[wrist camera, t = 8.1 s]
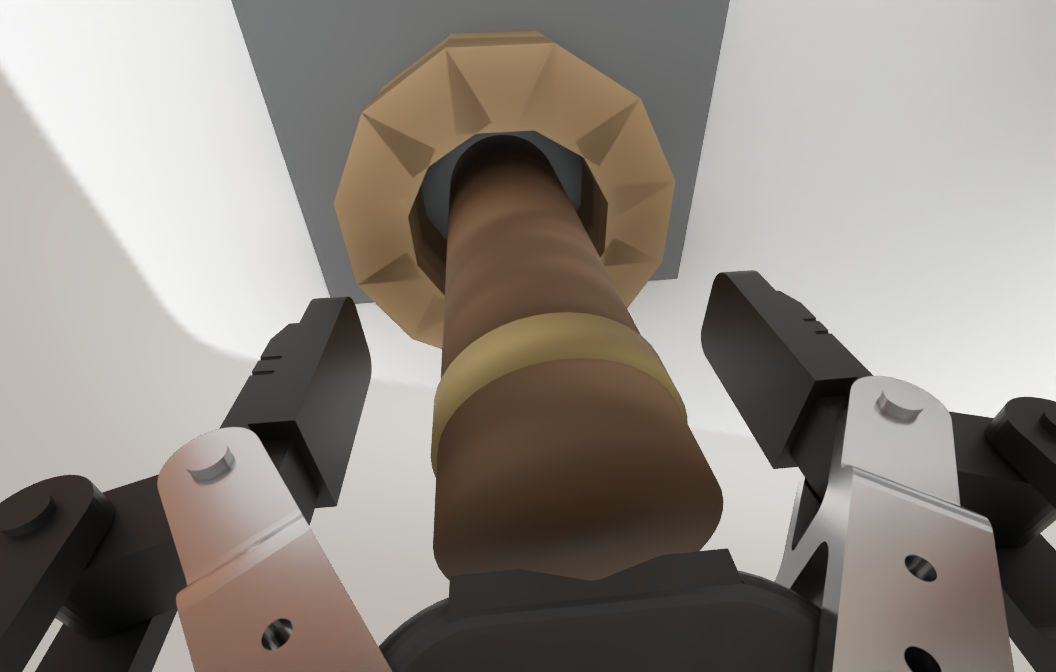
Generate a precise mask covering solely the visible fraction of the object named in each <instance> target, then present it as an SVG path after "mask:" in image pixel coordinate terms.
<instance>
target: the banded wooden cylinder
mask: <svg viewBox="0 0 1056 672" xmlns="http://www.w3.org/2000/svg"><path fill="white" fill-rule="evenodd" d="M431 462H432V468H433V471H434V474H435V477H436V496H435V517H434V538H433V550H434V556H435V560H436V562H437V564H438V567H439V568H440V570H441V571H442V573H443V574H444V575H445V577H446V578H448V579H449V580H450V576H453V575H463V574H473V573H484V572H494V571H504V570H514V569H523V570H529V571H535V572H541V573H547V574H553V575H559V576H565V577H571V578H577V579H583V580H591V581H593V580H599V579H602V578H605V577H607V576H610V575H612V574H615V573H617V572H620V571H622V570H625V569H628V568H630V567H633V566H635V565H638V564H640V563H643V562H645V561H648V560H650V559H653V558H655V557H658V556H660V555H667V554H677V553H688V552H698V551H700V550H701V548H702V547H703V546H704V545H705V544H706V543H707V542H708V540H709V539H710V538H711V536H712V535H713V533H714V531H715V530H716V528H717V526H718V524H719V522H720V519H721V515H722V511H723V496H722V491H721V488H720V486H719V484H718V482H717V479H716V478H715V476H714V474H713V472H712V470H711V468H710V466H709V464H708V462H707V461H706V459H705V457H704V455H703V453H702V451H701V449H700V447H699V445H698V443H697V441H696V440H695V438H694V436H693V434H692V432H691V430H690V428H689V426H688V424H687V414H686V409H685V405H684V403H683V401H682V399H681V397H680V395H679V393H678V391H677V389H676V387H675V386H674V384H673V382H672V380H671V378H670V376H669V374H668V373H667V371H666V369H665V367H664V365H663V363H662V362H661V360H660V358H659V356H658V354H657V353H656V352H655V350H654V349H653V347H652V346H651V345H650V344H649V343H648V342H647V341H646V340H645V339H644V338H643V337H642V336H641V335H640V333H639V331H638V329H637V327H636V325H635V323H634V321H633V320H632V318H631V316H630V314H629V312H628V310H627V308H626V306H625V304H624V302H623V300H622V299H621V297H620V295H619V293H618V291H617V289H616V287H615V285H614V283H613V281H612V280H611V278H610V276H609V274H608V272H607V270H606V268H605V266H604V264H603V262H602V261H601V259H600V257H599V255H598V253H597V251H596V249H595V247H594V245H593V243H592V241H591V240H590V238H589V236H588V234H587V232H586V230H585V228H584V226H583V224H582V222H581V221H580V219H579V217H578V215H577V213H576V211H575V209H574V207H573V205H572V203H571V201H570V200H569V198H568V196H567V194H566V192H565V190H564V188H563V186H562V184H561V182H560V181H559V179H558V177H557V175H556V173H555V171H554V169H553V167H552V165H551V163H550V162H549V160H548V158H547V157H546V155H545V154H544V153H543V152H542V151H541V150H540V149H539V148H538V147H537V146H536V145H534V144H533V143H531V142H529V141H528V140H525V139H523V138H520V137H517V136H512V135H495V136H490V137H486V138H484V139H482V140H479V141H477V142H476V143H474V144H473V145H471V146H470V147H469V148H468V149H466V151H465V152H464V153H463V154H462V155H461V156H460V158H459V159H458V161H457V163H456V165H455V166H454V169H453V172H452V175H451V180H450V197H449V218H448V239H447V261H446V282H445V303H444V325H443V346H442V367H441V381H440V383H439V385H438V387H437V391H436V395H435V399H434V413H433V430H432V446H431Z"/></svg>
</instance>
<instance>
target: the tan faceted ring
mask: <svg viewBox="0 0 1056 672" xmlns="http://www.w3.org/2000/svg"><path fill="white" fill-rule="evenodd" d="M533 130H535V131H537V132H539V133H540V134H542V135H544V136H546V137H548V138H549V139H551V140H553V141H555V142H557V143H558V144H560V145H562V146H564V147H566V148H567V149H569V150H571V151H573V152H575V153H576V154H578V156H579V158H580V159H581V161H582V187H581V205H580V207H579V209H578V210H577V212H576V213H577V215H578V217H579V219H580V221H581V222H582V224H583V226H584V228H585V230H586V232H587V234H588V236H589V238H590V240H591V241H592V243H593V245H594V247H595V249H596V251H597V253H598V255H599V257H600V259H601V261H602V262H603V264H604V266H605V268H606V270H607V272H608V274H609V276H610V278H611V280H612V281H613V283H614V285H615V287H616V289H617V291H618V293H619V295H620V297H621V299H622V300H623V302H624V304H625V306H626V308H628V306H629V305H630V304H631V303H632V301H633V300H634V299H635V297H636V296H637V295H638V293H639V292H640V291H641V289H642V288H643V287H644V285H645V284H646V283H647V281H648V280H649V279H650V277H651V276H652V275H653V273H654V272H655V271H656V270H657V268H658V267H659V266H660V264H661V263H662V261H663V255H664V249H665V243H666V237H667V230H668V224H669V218H670V212H671V206H672V200H673V194H674V187H675V179H674V177H673V175H672V172H671V170H670V167H669V165H668V163H667V160H666V158H665V155H664V153H663V151H662V148H661V146H660V143H659V141H658V139H657V136H656V134H655V131H654V129H653V127H652V124H651V122H650V119H649V117H648V115H647V112H646V110H645V107H644V105H643V103H642V100H641V98H640V97H638V96H637V95H635V94H634V93H632V92H631V91H629V90H628V89H626V88H624V87H623V86H621V85H620V84H618V83H617V82H615V81H614V80H612V79H611V78H609V77H608V76H606V75H605V74H603V73H602V72H600V71H599V70H597V69H595V68H594V67H592V66H591V65H589V64H588V63H586V62H585V61H583V60H581V59H580V58H578V57H577V56H575V55H574V54H572V53H571V52H569V51H567V50H566V49H564V48H563V47H561V46H560V45H558V44H557V43H555V42H553V41H552V40H550V39H549V38H547V37H546V36H544V35H543V34H541V33H540V32H538V31H536V30H530V31H506V32H482V33H459V34H450V35H448V36H447V37H446V38H444V39H443V40H442V41H441V42H439V43H438V44H437V45H435V46H434V47H433V48H432V49H430V50H429V51H428V52H426V53H425V54H424V55H423V56H421V57H420V58H419V59H418V60H416V61H415V62H414V63H412V64H411V65H410V66H409V67H407V68H406V69H405V70H403V71H402V72H401V73H400V74H398V75H397V76H396V77H394V78H393V79H392V80H391V81H389V82H388V83H387V84H386V85H384V86H383V87H382V89H381V90H380V91H379V92H378V93H377V95H376V96H375V97H374V98H373V100H372V101H371V102H370V103H369V104H368V106H367V107H366V108H365V109H364V111H363V112H362V113H361V116H360V120H359V123H358V126H357V129H356V133H355V136H354V139H353V142H352V146H351V149H350V152H349V155H348V159H347V162H346V165H345V168H344V171H343V175H342V178H341V181H340V184H339V188H338V191H337V194H336V197H335V201H334V207H335V210H336V214H337V217H338V221H339V224H340V228H341V231H342V235H343V238H344V242H345V245H346V249H347V252H348V256H349V259H350V263H351V266H352V269H353V273H354V276H355V280H356V283H357V285H358V286H359V287H360V288H361V289H362V290H363V291H364V292H365V293H366V294H367V295H368V296H369V297H370V298H371V299H372V300H373V301H374V302H375V303H376V304H377V305H378V306H379V307H380V308H381V309H382V310H383V311H384V312H385V313H386V314H387V315H388V316H389V317H390V318H391V319H392V320H393V321H394V322H395V323H396V324H397V325H398V326H400V327H401V328H402V329H403V330H404V331H405V332H406V333H407V334H408V335H409V336H410V337H411V338H412V339H414V340H417V341H420V342H423V343H426V344H429V345H432V346H435V347H438V348H441V349H442V346H443V325H444V303H445V282H446V261H447V240H446V239H445V238H444V237H443V235H442V234H441V233H440V232H439V231H438V229H437V228H436V227H435V226H434V224H433V223H432V222H431V221H430V219H429V218H428V217H427V216H426V211H425V205H424V199H423V193H422V187H421V183H422V181H423V178H424V176H425V173H426V171H427V169H428V167H429V166H430V165H432V164H433V163H435V162H436V161H438V160H439V159H440V158H442V157H443V156H445V155H446V154H447V153H449V152H450V151H452V150H453V149H455V148H456V147H457V146H459V145H460V144H462V143H463V142H464V141H466V140H467V139H469V138H470V137H472V136H473V135H474V134H480V133H497V132H515V131H533Z"/></svg>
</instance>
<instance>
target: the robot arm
mask: <svg viewBox="0 0 1056 672" xmlns="http://www.w3.org/2000/svg"><path fill="white" fill-rule="evenodd" d="M701 343H702V348H703V352H704V354H705V356H706V358H707V359H708V361H709V363H710V364H711V366H712V368H713V369H714V371H715V373H716V374H717V376H718V378H719V379H720V381H721V383H722V384H723V386H724V388H725V389H726V391H727V393H728V394H729V396H730V398H731V399H732V401H733V403H734V404H735V406H736V408H737V409H738V411H739V413H740V414H741V416H742V418H743V419H744V421H745V422H746V424H747V426H748V427H749V429H750V431H751V432H752V434H753V436H754V437H755V439H756V441H757V442H758V444H759V446H760V447H761V449H762V451H763V452H764V454H765V456H766V457H767V459H768V460H769V462H770V464H771V466H772V467H773V469H778V468H789V467H799V469H800V470H801V472H802V473H803V476H802V478H801V480H800V482H799V485H798V488H797V492H796V498H795V502H794V507H793V512H792V516H791V521H790V526H789V531H788V535H787V540H786V545H785V551H784V555H783V559H782V563H781V566H780V570H779V572H778V575H777V577H776V580H775V582H773V581H771V580H768V579H765V578H763V577H760V576H756V575H753V574H749V573H746V572H742V571H737V568H736V566H735V564H734V561H733V559H732V557H731V555H730V552H729V550H728V549H718V550H708V551H698V552H688V553H677V554H667V555H660V556H658V557H655V558H653V559H650V560H648V561H645V562H643V563H640V564H638V565H635V566H633V567H630V568H628V569H625V570H622V571H620V572H617V573H615V574H612V575H610V576H607V577H605V578H602V579H599V580H593V581H591V580H583V579H577V578H571V577H565V576H559V575H553V574H547V573H541V572H535V571H529V570H523V569H514V570H504V571H494V572H484V573H473V574H463V575H453V576H450V587H449V598H447V599H444V600H441V601H439V602H437V603H435V604H433V605H431V606H429V607H427V608H425V609H424V610H422V611H420V612H419V613H417V614H416V615H414V616H413V617H411V618H410V619H409V620H407V621H406V622H404V623H403V624H402V625H401V626H400V627H398V628H397V629H396V630H395V631H394V632H393V633H392V634H390V635H389V636H388V637H387V639H385V641H384V642H383V643H382V644H381V645H380V646H379V647H378V646H377V644H376V642H375V640H374V639H373V637H372V635H371V633H370V632H369V630H368V628H367V626H366V625H365V623H364V621H363V619H362V618H361V616H360V614H359V612H358V611H357V609H356V607H355V605H354V604H353V602H352V600H351V599H350V597H349V595H348V593H347V592H346V590H345V588H344V586H343V584H342V583H341V581H340V579H339V578H338V576H337V574H336V572H335V570H334V569H333V567H332V565H331V564H330V562H329V560H328V558H327V556H326V555H325V553H324V551H323V549H322V548H321V546H320V544H319V543H318V541H317V539H316V537H315V536H314V534H313V532H312V530H311V528H310V527H309V525H310V522H311V519H312V516H313V512H314V509H315V508H321V507H322V508H323V507H334V506H337V503H338V499H339V495H340V492H341V487H342V484H343V480H344V477H345V473H346V469H347V465H348V462H349V458H350V454H351V450H352V447H353V443H354V439H355V435H356V432H357V428H358V424H359V421H360V417H361V413H362V409H363V406H364V402H365V398H366V394H367V390H368V387H369V383H370V379H371V358H370V353H369V349H368V346H367V342H366V339H365V336H364V332H363V329H362V326H361V322H360V319H359V316H358V312H357V309H356V306H355V303H354V301H353V300H352V298H351V297H334V298H319V299H313V300H311V302H310V304H309V305H308V307H307V309H306V311H305V313H304V315H303V317H302V319H301V321H300V323H293V324H288V325H287V326H286V327H285V328H284V329H283V330H281V331H280V332H279V333H278V334H277V335H275V336H274V337H273V338H272V339H271V340H270V341H269V343H268V345H267V347H266V348H265V350H264V352H263V354H262V355H261V361H258V362H257V364H256V366H255V368H254V369H253V371H252V376H250V377H249V378H248V380H247V382H246V383H245V385H244V387H243V388H242V390H241V392H240V394H239V396H238V397H237V399H236V401H235V402H234V404H233V406H232V408H231V409H230V411H229V413H228V415H227V416H226V418H225V420H224V422H223V423H222V425H221V427H220V429H217V430H214V431H211V432H208V433H205V434H203V435H201V436H199V437H197V438H195V439H193V440H191V441H190V442H188V443H187V444H185V445H183V446H182V447H181V448H180V449H178V450H177V451H176V452H175V453H174V454H173V455H172V456H171V457H170V458H169V459H168V460H167V462H166V463H165V464H164V466H163V468H162V469H161V471H160V474H159V475H156V476H153V477H150V478H147V479H143V480H140V481H137V482H134V483H131V484H128V485H125V486H121V487H118V488H115V489H112V490H109V491H106V492H103V493H102V492H101V491H99V489H98V488H97V487H96V486H95V485H94V484H93V483H92V482H91V481H89V480H88V479H87V478H85V477H82V476H79V475H64V476H58V477H53V478H50V479H46V480H43V481H40V482H38V483H35V484H33V485H31V486H29V487H26V488H24V489H22V490H21V491H19V492H17V493H15V494H13V495H12V496H10V497H9V498H7V499H5V500H4V501H3V502H1V503H0V672H22V671H23V670H24V668H25V666H26V665H27V663H28V661H29V660H30V658H31V656H32V655H33V653H34V651H35V650H36V648H37V646H38V645H39V643H40V642H41V640H42V638H43V637H44V635H45V633H46V631H47V630H48V628H49V627H50V625H51V623H52V622H53V620H54V618H56V619H58V620H59V621H61V622H62V623H63V625H62V627H61V629H60V630H59V632H58V634H57V635H56V637H55V639H54V640H53V642H52V644H51V645H50V647H49V649H48V651H47V652H46V654H45V656H44V657H43V659H42V661H41V663H40V664H39V666H38V668H37V669H36V671H35V672H152V669H153V667H154V665H155V662H156V660H157V657H158V655H159V653H160V650H161V648H162V646H163V643H164V641H165V638H166V636H167V634H168V631H169V629H170V627H171V624H172V622H173V619H174V617H175V615H176V612H177V610H178V613H179V617H180V621H181V624H182V628H183V631H184V635H185V638H186V642H187V646H188V649H189V652H190V656H191V660H192V663H193V667H194V671H195V672H1014V667H1013V660H1012V653H1011V646H1010V641H1009V637H1010V638H1011V639H1012V641H1013V642H1014V643H1015V645H1016V646H1017V647H1018V649H1019V650H1020V651H1021V653H1022V654H1023V655H1024V657H1025V658H1026V659H1027V661H1028V662H1029V663H1030V665H1031V666H1032V667H1033V669H1034V670H1035V671H1036V672H1056V550H1055V549H1054V548H1053V547H1052V546H1051V545H1050V544H1049V543H1048V542H1047V541H1046V540H1045V538H1043V536H1042V535H1041V534H1040V533H1041V532H1042V531H1043V530H1044V529H1046V528H1047V527H1048V526H1049V525H1050V524H1052V523H1053V522H1054V521H1055V520H1056V402H1054V401H1051V400H1047V399H1042V398H1035V397H1019V398H1015V399H1012V400H1010V401H1008V402H1007V403H1006V405H1005V406H1004V407H1003V408H1002V409H1001V411H1000V412H999V413H998V414H997V415H996V416H995V418H988V417H981V416H975V415H968V414H961V413H955V412H948V410H947V409H946V408H945V406H944V405H943V404H942V403H941V402H940V401H939V400H938V399H936V398H935V397H934V396H932V395H931V394H930V393H928V392H926V391H925V390H923V389H921V388H919V387H917V386H915V385H913V384H910V383H908V382H905V381H902V380H899V379H895V378H891V377H885V376H873V375H872V374H871V373H870V372H869V371H868V370H867V369H866V368H865V367H864V366H863V365H862V364H861V363H860V362H859V361H858V360H857V359H856V358H855V357H854V356H853V355H852V354H851V353H850V352H849V351H848V350H847V349H846V348H845V347H844V346H843V345H842V344H841V343H840V342H839V341H838V340H837V339H836V338H835V337H834V336H833V335H832V334H828V330H827V329H826V328H825V327H824V326H823V325H822V324H821V323H820V322H819V321H816V318H815V317H814V316H813V314H812V313H811V312H810V311H809V310H808V309H807V308H806V307H805V306H804V305H803V304H802V303H800V302H798V301H797V300H795V299H793V298H791V297H789V296H788V295H786V294H784V293H782V292H780V291H775V289H774V288H773V287H772V286H771V285H770V284H769V283H768V282H767V281H766V280H765V279H764V278H763V277H762V276H761V275H760V274H759V273H758V272H757V271H753V270H752V271H737V272H722V273H719V274H718V275H717V276H716V277H715V279H714V282H713V285H712V289H711V293H710V297H709V301H708V306H707V310H706V314H705V318H704V322H703V326H702V330H701Z"/></svg>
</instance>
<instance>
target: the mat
mask: <svg viewBox="0 0 1056 672" xmlns="http://www.w3.org/2000/svg"><path fill="white" fill-rule="evenodd" d="M231 1H232V4H233V7H234V10H235V13H236V16H237V19H238V22H239V25H240V28H241V31H242V34H243V37H244V40H245V43H246V46H247V49H248V52H249V55H250V58H251V61H252V64H253V67H254V70H255V73H256V76H257V79H258V82H259V85H260V88H261V91H262V94H263V97H264V100H265V103H266V106H267V109H268V112H269V115H270V118H271V121H272V124H273V127H274V130H275V133H276V136H277V139H278V142H279V145H280V148H281V151H282V154H283V157H284V160H285V163H286V166H287V169H288V172H289V175H290V178H291V181H292V183H293V186H294V189H295V192H296V195H297V198H298V201H299V204H300V207H301V210H302V213H303V216H304V219H305V222H306V225H307V228H308V231H309V234H310V237H311V240H312V243H313V246H314V249H315V252H316V255H317V258H318V261H319V264H320V267H321V270H322V273H323V276H324V279H325V282H326V285H327V288H328V291H329V294H330V297H331V298H334V297H351V298H352V300H353V301H354V303H355V304H358V303H371V302H374V301H373V300H372V299H371V298H370V297H369V296H368V295H367V294H366V293H365V292H364V291H363V290H362V289H361V288H360V287H359V286H358V285H357V283H356V280H355V276H354V273H353V269H352V266H351V263H350V259H349V256H348V252H347V249H346V245H345V242H344V238H343V235H342V231H341V228H340V224H339V221H338V217H337V214H336V210H335V207H334V201H335V197H336V194H337V191H338V188H339V184H340V181H341V178H342V175H343V171H344V168H345V165H346V162H347V159H348V155H349V152H350V149H351V146H352V142H353V139H354V136H355V133H356V129H357V126H358V123H359V120H360V116H361V113H362V112H363V111H364V109H365V108H366V107H367V106H368V104H369V103H370V102H371V101H372V100H373V98H374V97H375V96H376V95H377V93H378V92H379V91H380V90H381V89H382V87H383V86H384V85H386V84H387V83H388V82H389V81H391V80H392V79H393V78H394V77H396V76H397V75H398V74H400V73H401V72H402V71H403V70H405V69H406V68H407V67H409V66H410V65H411V64H412V63H414V62H415V61H416V60H418V59H419V58H420V57H421V56H423V55H424V54H425V53H426V52H428V51H429V50H430V49H432V48H433V47H434V46H435V45H437V44H438V43H439V42H441V41H442V40H443V39H444V38H446V37H447V36H448V35H450V34H459V33H482V32H506V31H530V30H536V31H538V32H540V33H541V34H543V35H544V36H546V37H547V38H549V39H550V40H552V41H553V42H555V43H557V44H558V45H560V46H561V47H563V48H564V49H566V50H567V51H569V52H571V53H572V54H574V55H575V56H577V57H578V58H580V59H581V60H583V61H585V62H586V63H588V64H589V65H591V66H592V67H594V68H595V69H597V70H599V71H600V72H602V73H603V74H605V75H606V76H608V77H609V78H611V79H612V80H614V81H615V82H617V83H618V84H620V85H621V86H623V87H624V88H626V89H628V90H629V91H631V92H632V93H634V94H635V95H637V96H638V97H640V98H641V100H642V103H643V105H644V107H645V110H646V112H647V115H648V117H649V119H650V122H651V124H652V127H653V129H654V131H655V134H656V136H657V139H658V141H659V143H660V146H661V148H662V151H663V153H664V155H665V158H666V160H667V163H668V165H669V167H670V170H671V172H672V175H673V177H674V179H675V187H674V194H673V200H672V206H671V212H670V218H669V224H668V230H667V237H666V243H665V249H664V255H663V261H662V263H661V264H660V266H659V267H658V268H657V270H656V271H655V272H654V273H653V275H652V276H651V277H650V279H649V280H648V281H652V280H665V279H677V277H678V271H679V266H680V261H681V256H682V250H683V245H684V240H685V234H686V229H687V224H688V218H689V213H690V208H691V202H692V197H693V192H694V187H695V181H696V176H697V171H698V165H699V160H700V155H701V149H702V144H703V139H704V133H705V128H706V123H707V118H708V112H709V107H710V102H711V96H712V91H713V86H714V80H715V75H716V70H717V64H718V59H719V54H720V49H721V43H722V38H723V33H724V27H725V22H726V17H727V11H728V6H729V1H730V0H231ZM495 135H512V136H517V137H520V138H523V139H525V140H528V141H529V142H531V143H533V144H534V145H536V146H537V147H538V148H539V149H540V150H541V151H542V152H543V153H544V154H545V155H546V157H547V158H548V160H549V162H550V163H551V165H552V167H553V169H554V171H555V173H556V175H557V177H558V179H559V181H560V182H561V184H562V186H563V188H564V190H565V192H566V194H567V196H568V198H569V200H570V201H571V203H572V205H573V207H574V209H575V211H576V212H577V210H578V209H579V207H580V205H581V187H582V161H581V159H580V158H579V156H578V154H576V153H575V152H573V151H571V150H569V149H567V148H566V147H564V146H562V145H560V144H558V143H557V142H555V141H553V140H551V139H549V138H548V137H546V136H544V135H542V134H540V133H539V132H537V131H535V130H533V131H515V132H497V133H480V134H474V135H473V136H472V137H470V138H469V139H467V140H466V141H464V142H463V143H462V144H460V145H459V146H457V147H456V148H455V149H453V150H452V151H450V152H449V153H447V154H446V155H445V156H443V157H442V158H440V159H439V160H438V161H436V162H435V163H433V164H432V165H430V166H429V167H428V169H427V171H426V173H425V176H424V178H423V181H422V183H421V187H422V193H423V199H424V205H425V211H426V216H427V217H428V218H429V219H430V221H431V222H432V223H433V224H434V226H435V227H436V228H437V229H438V231H439V232H440V233H441V234H442V235H443V237H444V238H445V239H446V240H447V239H448V218H449V197H450V180H451V175H452V172H453V169H454V166H455V165H456V163H457V161H458V159H459V158H460V156H461V155H462V154H463V153H464V152H465V151H466V149H468V148H469V147H470V146H471V145H473V144H474V143H476V142H477V141H479V140H482V139H484V138H486V137H490V136H495Z"/></svg>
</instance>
